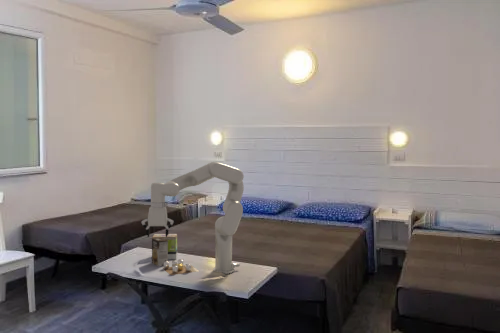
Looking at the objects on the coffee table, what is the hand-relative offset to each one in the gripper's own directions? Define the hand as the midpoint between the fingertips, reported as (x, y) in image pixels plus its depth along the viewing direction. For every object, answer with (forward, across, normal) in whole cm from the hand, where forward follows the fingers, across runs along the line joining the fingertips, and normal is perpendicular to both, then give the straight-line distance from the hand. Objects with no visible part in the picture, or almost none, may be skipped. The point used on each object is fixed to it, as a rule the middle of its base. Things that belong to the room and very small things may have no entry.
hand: (157, 236), depth 233 cm
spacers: (+21, -11, -7) cm, 25 cm away
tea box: (+23, -3, -39) cm, 45 cm away
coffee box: (+22, 0, -21) cm, 31 cm away
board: (+22, -13, -8) cm, 27 cm away
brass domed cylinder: (+21, -12, -8) cm, 25 cm away
